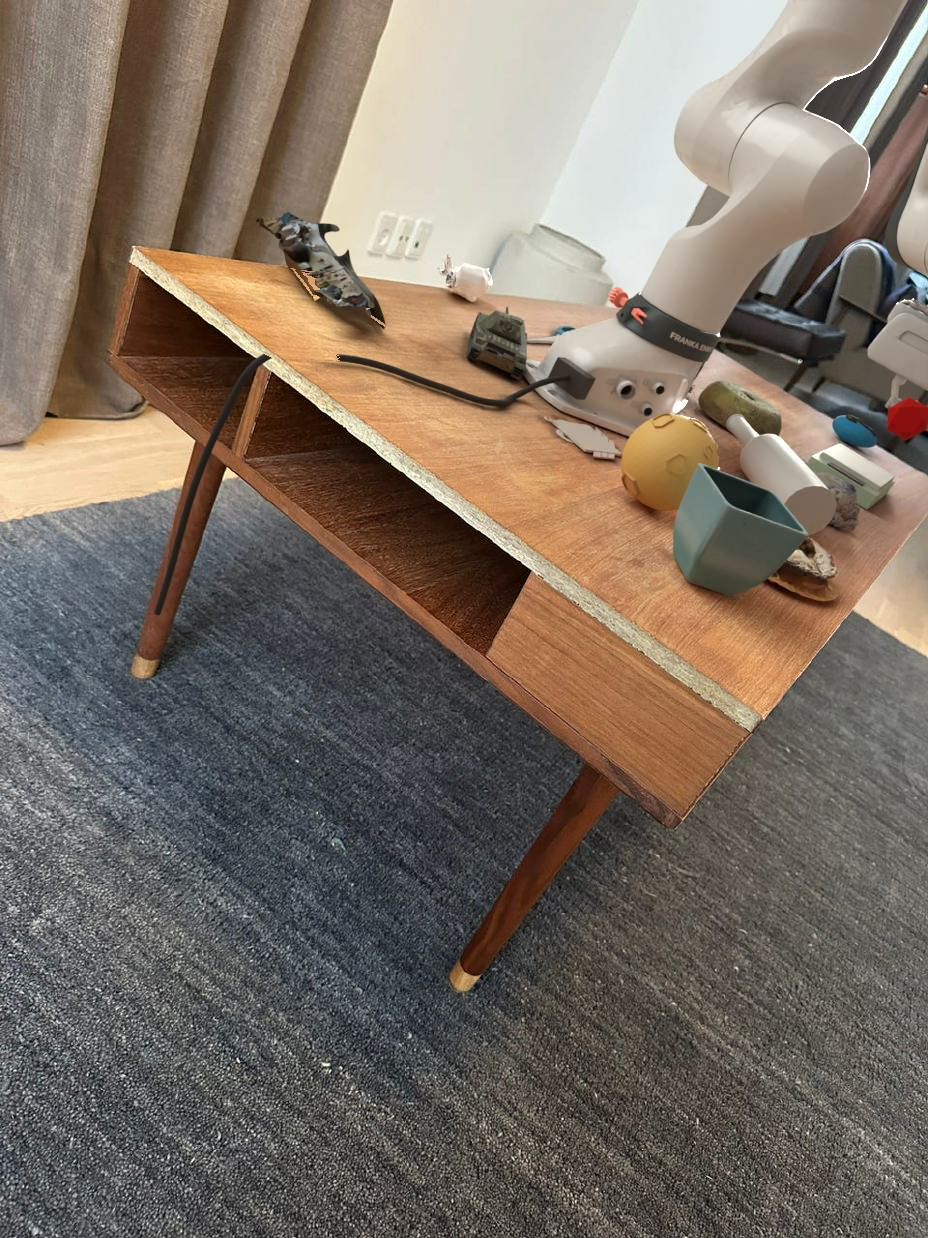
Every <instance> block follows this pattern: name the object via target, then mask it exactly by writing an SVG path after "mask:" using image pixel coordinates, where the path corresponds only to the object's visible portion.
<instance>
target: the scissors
mask: <svg viewBox="0 0 928 1238" xmlns="http://www.w3.org/2000/svg"><path fill="white" fill-rule="evenodd" d="M575 329H577V328H575V327H574V326H569V325H563V326H562V325H561V326H559V327H558V328H557V329H556V331H555V333H554V335H553V336H545V337H537V338H535V337H534V338H527V344H528V343H529V344H553V343H554V342H555V341H556V339H557V338H558V337H559V336H560V335H561V334H563V333H565V332H567V331H571V330H575Z"/></svg>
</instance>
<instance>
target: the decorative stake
mask: <svg viewBox="0 0 928 1238" xmlns="http://www.w3.org/2000/svg"><path fill="white" fill-rule="evenodd" d="M886 418H887V420H886V431H888V432H889V433H892V434H893V435H895V436H897V437H899V438H901V439H903V440H904V441H907V440H909V439H911V438H913V437H915V436H918V435H919V434H921V433H923V432H925V431H926V430H927V425H928V406H927V405H925V404H923V403H921V402H920V401H918V400H917V399H914V398H912V397H910V396H909V397H907V398H905V399H902V401H901V402H899V403H897V404H896V405H894V406H892V407H890V408H887V417H886Z"/></svg>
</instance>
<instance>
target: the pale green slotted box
mask: <svg viewBox="0 0 928 1238" xmlns="http://www.w3.org/2000/svg"><path fill="white" fill-rule="evenodd" d="M805 464H806V465H807V466H808V467H809V468H810V469H811V470H812V471H815V472H817V473H820V472H821V473H827V474H829V475H831V476H833V477H835V478H838V479H841V480H843V481H846V482H848V483H851V484H853V486H854V487H855V488H856V491H857V500H858V501H857V506H860V507H862V508H863V509H864V510H866V511H867V510H869V509H870V508H871V507H872V506H874V505H875V504H876V503H877V502H879V501H880V500H881V499H882V498H883V497H885V496H886V495H887V494H888V492H889V491H890V490H891V489H892V487H893V486H894V484H895V483H896V481H895V480H894V479H895V476H896V475H894V474H892V473H890V472H888V471H887V470H885V469H884V468H882V467H880V466H879V465H877V464H875V463H874V462H872V461H871V460H869V459H867V458H866V457H864V456H862V455H860V454H859V453H857V452H856V451H854V450H853V449H851V448H849V447H847V446H846V445H844V444H842V443H838V444H836V445H834V446H831V447H829V448H827V449H825V450H823V451H820V452H818V453H816V454H814V455H811V456H810V458H809V459H808V461H807V462H806V463H805Z"/></svg>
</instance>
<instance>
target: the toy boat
mask: <svg viewBox="0 0 928 1238" xmlns="http://www.w3.org/2000/svg"><path fill="white" fill-rule="evenodd" d="M255 222H256V223H258V225H259V227H261V228H263V229H265V230H266V231H268V232H269V233H270V234H272V235H274V237H275V238H276V239H277V240H279V242H278V248H279V249H280V250H281V251H282V252H283V254H284V261H285V263H286V266H287V268H288V270H290V272H291V273H293V275H294V276H295V279H296V280H297V281H298V283H299V284H300V285H301V287H302V288H303V289H304V290H305V291H306V292H307V294H308V295H309V296H310V295H311V294H310V293H309V291H308V290H307V289H306V287H305V286H304V285H303V283H302V282H301V281H300V279H299V278H298V277H297V276H296V274H295V273H294V271H293V270H292V269H289V268H294V269H296V270H295V271H296V272H297V273H298V275H300V277H301V278H302V279H303V280H304V282H305V283H306V284H307V286H308V287H309V289H310V291H311V292H312V294H313V295H317V296H319V297H321V298H323V297H326V303H328V304H330V305H335V307H344V306H345V307H346V306H347V307H350V308H364V309H365V308H370V309H368V310H365V312H366V314H367V316H368V317H369V318H370V319H371V320H372V321H374V322H375V323H376V324H377V325H378V326H379V327H380V328H381V329H382V330H386V326H385V327H384V326H383V325H381V324H379V323H378V322H377V321H375V320H374V319H372V318H371V315H372V316H374V317H375V318H377V319H378V320H380V321H381V322H383V323H384V324H385V325H386V320H385V316H384V314H383V311H382V308H381V305H380V303H379V301H378V299H377V297H376V296H375V294H374V293H373V292H372V291H371V289H370V288H369V287H368V286H367V285H366V284H365V283H364V281H363V280H362V279H361V278H360V277H359V276H358V274H357V273H356V271H355V269H354V266H353V264H352V259H351V254H350V250H349V249H347V250H346V251H345V253H343V254H342V255H338V254H337V253H336V252H335V251H334V250H333V248H332V247H331V246H330V245H329V244H328V242H327V240H326V236H325V235H326V234H328V233H337V232H340V227H339V226H338V225H337V224H333V223H324V222H323V223H322V222H321V223H320V222H319V223H318V222H315V223H310V222H308V221H307V220H304V219H302V218H300V217H298V216H296V215H295V214H294V213H291V212H289V211H286V212H284V213H283V215H282V216H280V217H275V218H271V217H267V218H266V217H264V216H261V215H260V216H259V217H258V218H257V219H256V220H255ZM301 270H307V271H315V272H305V271H301ZM302 272H305V273H310V274H307V275H308V276H312V277H314V278H316V279H315V285H316V286H317V287H318V288H320V290H314V289H313V287H312V286H311V285H310V284H309V282H308V278H307V277H306V276H304V275H303V273H302Z"/></svg>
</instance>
